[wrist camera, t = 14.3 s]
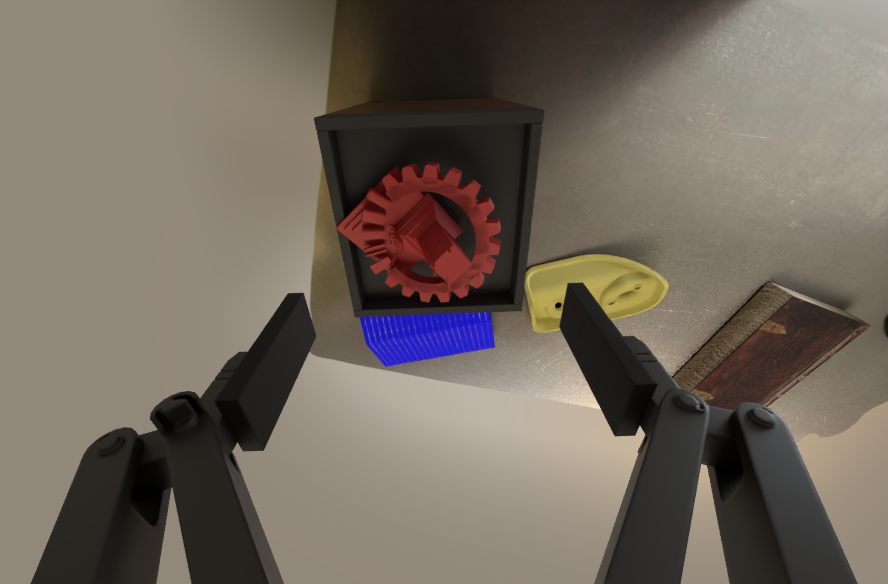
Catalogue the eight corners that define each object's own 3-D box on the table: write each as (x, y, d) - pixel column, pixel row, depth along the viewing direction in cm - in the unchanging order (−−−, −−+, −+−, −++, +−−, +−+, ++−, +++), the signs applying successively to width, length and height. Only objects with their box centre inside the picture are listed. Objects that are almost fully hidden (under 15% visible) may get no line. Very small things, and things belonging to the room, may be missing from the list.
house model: (354, 271, 54) (344, 294, 49) (476, 247, 53) (482, 267, 47) (388, 357, 64) (384, 385, 58) (492, 339, 63) (498, 365, 57)
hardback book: (723, 411, 75) (741, 430, 71) (655, 392, 71) (669, 412, 67) (844, 310, 61) (874, 327, 57) (767, 280, 57) (793, 296, 53)
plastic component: (533, 334, 59) (530, 309, 51) (525, 298, 63) (520, 269, 55) (655, 311, 55) (673, 279, 47) (638, 274, 59) (651, 239, 51)
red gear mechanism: (329, 153, 24) (322, 181, 17) (487, 158, 27) (537, 183, 20) (342, 286, 29) (341, 348, 22) (473, 278, 32) (508, 330, 25)
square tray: (324, 114, 25) (313, 117, 23) (535, 107, 25) (544, 109, 23) (360, 302, 34) (354, 317, 31) (516, 296, 34) (521, 311, 32)
